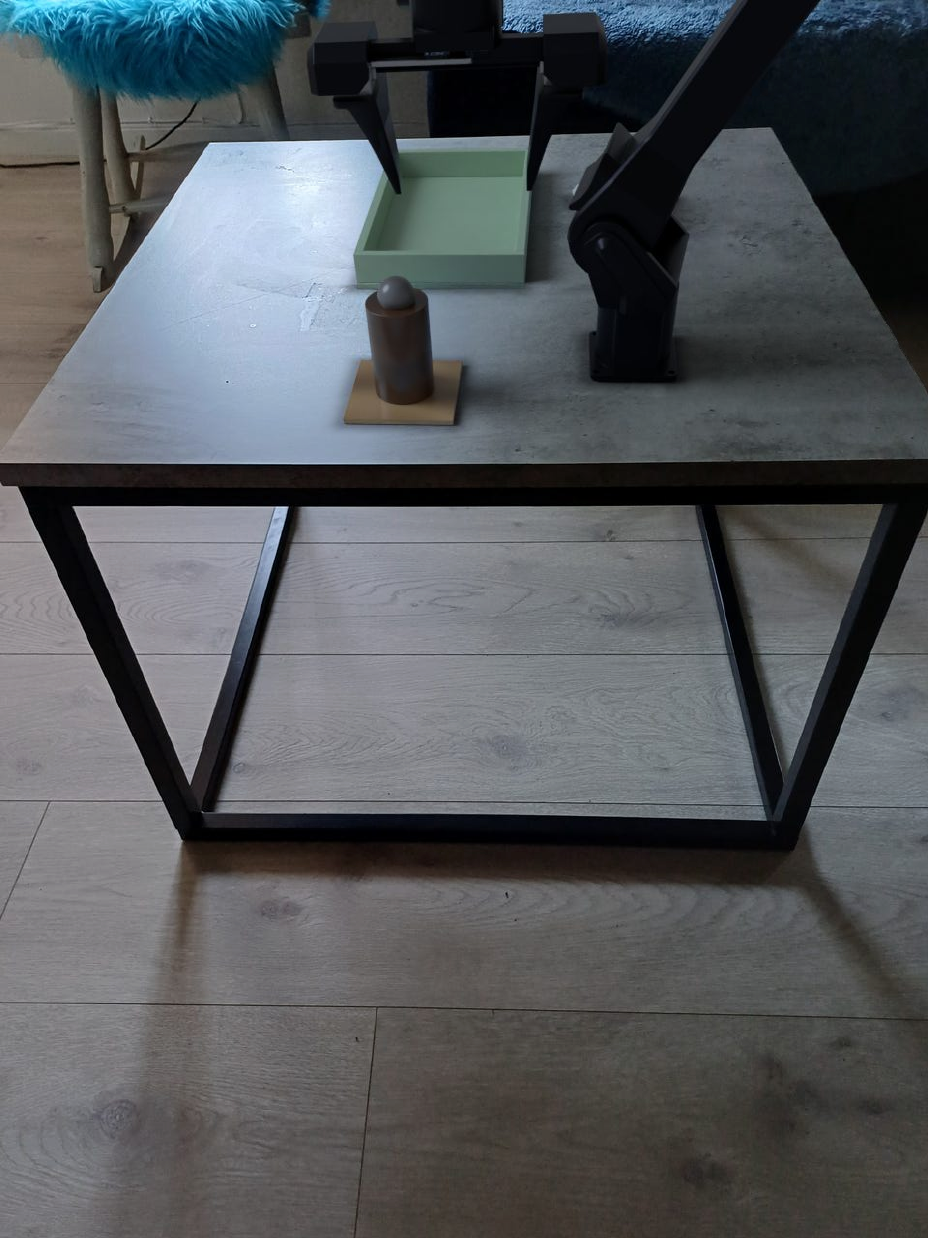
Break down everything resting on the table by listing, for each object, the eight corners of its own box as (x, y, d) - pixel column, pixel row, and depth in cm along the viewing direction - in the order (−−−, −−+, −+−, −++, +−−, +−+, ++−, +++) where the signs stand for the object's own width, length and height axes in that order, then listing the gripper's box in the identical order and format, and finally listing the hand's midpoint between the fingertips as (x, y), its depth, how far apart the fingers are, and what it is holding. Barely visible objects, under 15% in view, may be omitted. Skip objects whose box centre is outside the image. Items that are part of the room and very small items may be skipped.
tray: (524, 289, 80) (524, 254, 78) (357, 288, 82) (352, 254, 80) (533, 178, 97) (533, 147, 94) (393, 180, 98) (390, 148, 96)
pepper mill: (431, 405, 68) (422, 293, 62) (371, 404, 69) (357, 293, 62) (437, 372, 71) (429, 262, 65) (380, 372, 72) (367, 262, 65)
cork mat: (453, 425, 67) (453, 420, 67) (343, 423, 68) (342, 418, 67) (462, 364, 73) (462, 360, 72) (361, 364, 73) (360, 359, 73)
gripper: (604, -115, 60) (591, 143, 71) (316, -100, 61) (348, 151, 72) (615, -78, 52) (599, 205, 63) (285, -62, 53) (327, 212, 65)
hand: (464, 190), depth 66 cm, fingers open, 9 cm apart
